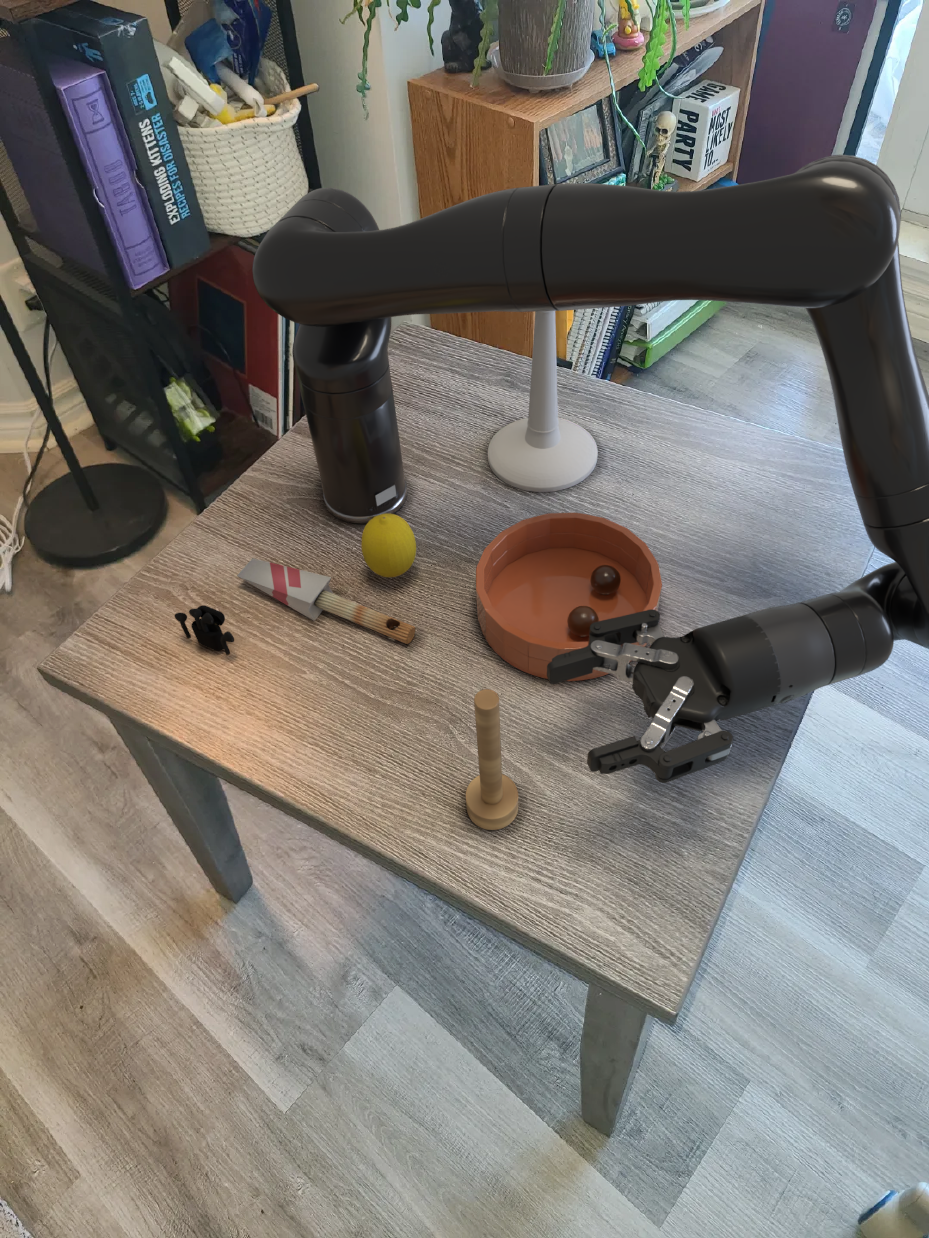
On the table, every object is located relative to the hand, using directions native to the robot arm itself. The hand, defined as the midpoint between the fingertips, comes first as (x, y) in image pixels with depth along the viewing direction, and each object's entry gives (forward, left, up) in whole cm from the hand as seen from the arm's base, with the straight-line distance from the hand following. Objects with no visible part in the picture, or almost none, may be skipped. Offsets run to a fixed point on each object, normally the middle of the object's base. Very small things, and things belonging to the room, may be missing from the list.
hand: (568, 716), depth 69 cm
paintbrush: (-30, -6, -11) cm, 33 cm away
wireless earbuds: (-33, -17, -11) cm, 39 cm away
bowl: (-15, +13, -11) cm, 22 cm away
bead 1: (-12, +12, -8) cm, 19 cm away
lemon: (-30, +2, -11) cm, 32 cm away
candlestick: (-35, +26, -11) cm, 45 cm away
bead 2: (-14, +17, -8) cm, 24 cm away
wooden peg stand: (-2, -6, -11) cm, 12 cm away
